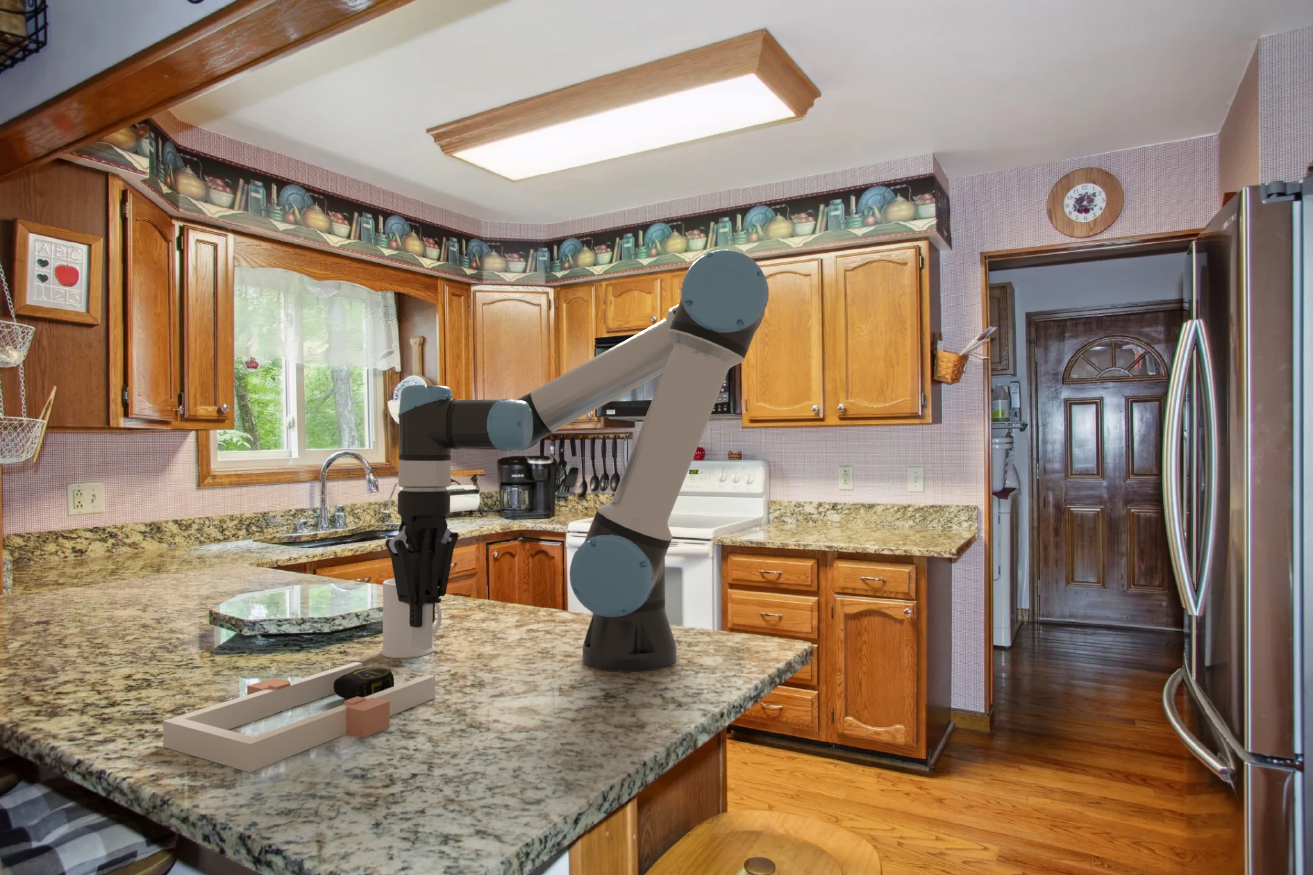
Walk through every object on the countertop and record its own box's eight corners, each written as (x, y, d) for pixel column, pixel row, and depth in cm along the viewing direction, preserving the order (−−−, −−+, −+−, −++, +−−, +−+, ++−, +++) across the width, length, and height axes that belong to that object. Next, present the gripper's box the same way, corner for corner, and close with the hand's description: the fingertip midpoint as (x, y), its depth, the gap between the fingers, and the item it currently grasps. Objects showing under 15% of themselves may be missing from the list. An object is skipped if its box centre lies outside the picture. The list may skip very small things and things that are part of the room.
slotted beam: (451, 701, 106) (451, 675, 106) (268, 777, 81) (268, 745, 81) (340, 679, 116) (341, 656, 116) (148, 742, 91) (148, 713, 91)
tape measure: (331, 701, 106) (331, 673, 107) (377, 689, 112) (377, 662, 112) (357, 712, 102) (357, 683, 102) (403, 698, 107) (403, 671, 107)
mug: (457, 653, 130) (457, 581, 131) (414, 664, 124) (414, 588, 124) (413, 642, 137) (413, 574, 138) (370, 653, 130) (370, 581, 131)
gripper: (436, 486, 124) (434, 635, 124) (372, 490, 112) (369, 654, 112) (473, 488, 120) (470, 641, 120) (410, 492, 109) (407, 661, 109)
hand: (421, 647), depth 116 cm, fingers closed
